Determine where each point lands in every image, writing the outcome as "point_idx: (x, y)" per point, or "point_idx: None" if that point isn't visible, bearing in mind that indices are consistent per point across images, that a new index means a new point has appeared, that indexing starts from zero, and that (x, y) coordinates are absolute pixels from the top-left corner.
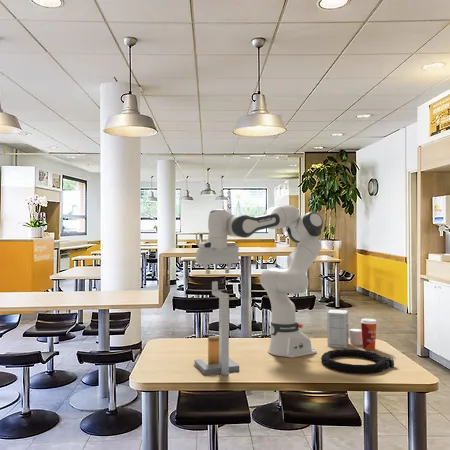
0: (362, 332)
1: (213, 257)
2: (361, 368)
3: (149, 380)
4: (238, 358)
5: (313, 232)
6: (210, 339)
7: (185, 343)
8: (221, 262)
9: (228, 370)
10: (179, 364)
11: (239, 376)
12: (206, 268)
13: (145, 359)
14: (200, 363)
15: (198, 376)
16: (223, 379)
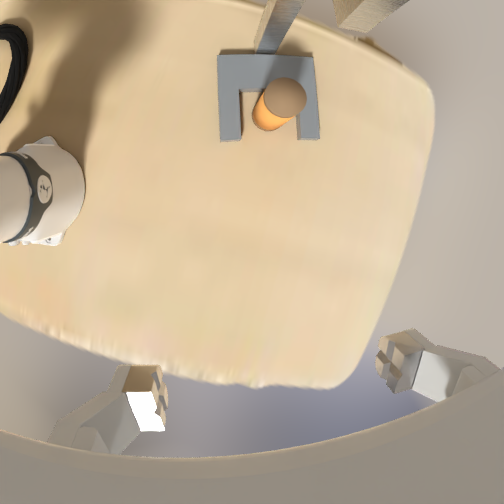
0: None
1: (496, 485)
2: (4, 24)
3: (413, 83)
4: (181, 159)
5: None
6: (301, 87)
7: (286, 343)
8: (262, 468)
9: (255, 37)
10: (349, 156)
11: (232, 27)
12: (456, 352)
13: (406, 224)
14: (311, 103)
15: (324, 57)
16: None
